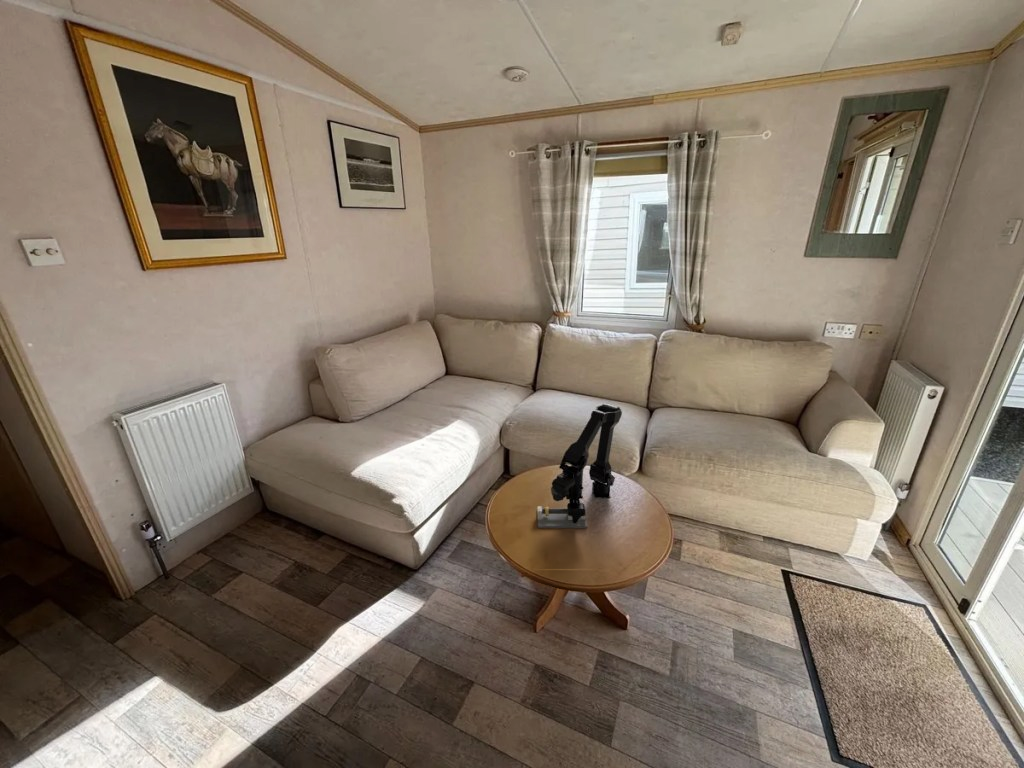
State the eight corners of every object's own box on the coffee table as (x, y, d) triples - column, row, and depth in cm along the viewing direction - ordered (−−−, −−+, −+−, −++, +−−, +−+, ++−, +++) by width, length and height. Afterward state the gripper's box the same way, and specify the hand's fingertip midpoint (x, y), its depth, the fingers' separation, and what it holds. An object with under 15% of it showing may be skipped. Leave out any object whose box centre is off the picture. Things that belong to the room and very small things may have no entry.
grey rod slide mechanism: (583, 510, 156) (583, 499, 154) (586, 528, 146) (587, 516, 145) (537, 510, 156) (537, 499, 155) (538, 527, 147) (538, 516, 145)
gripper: (551, 466, 154) (550, 499, 160) (554, 496, 137) (553, 532, 142) (579, 466, 154) (578, 499, 159) (586, 496, 136) (584, 532, 142)
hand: (573, 515), depth 151 cm, fingers open, 8 cm apart
